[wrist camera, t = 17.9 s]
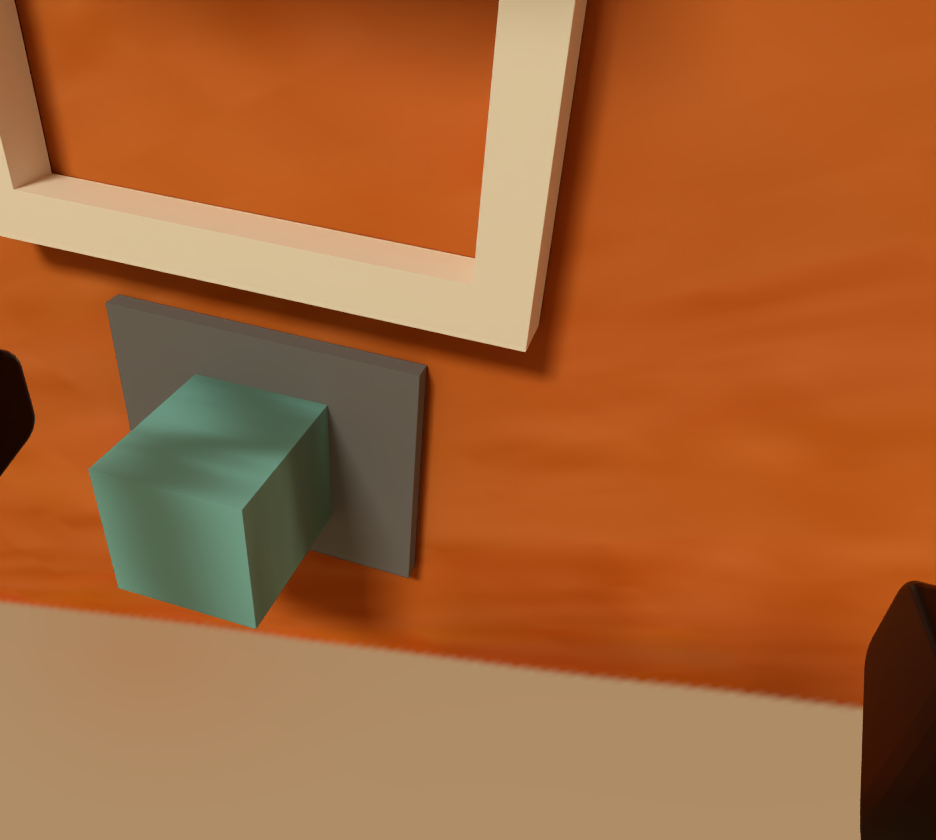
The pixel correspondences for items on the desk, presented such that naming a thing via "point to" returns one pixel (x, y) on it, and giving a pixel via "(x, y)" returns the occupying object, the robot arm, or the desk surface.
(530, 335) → the white flat frame
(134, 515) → the block
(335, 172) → the desk surface
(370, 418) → the mat
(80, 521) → the desk surface
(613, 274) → the desk surface
